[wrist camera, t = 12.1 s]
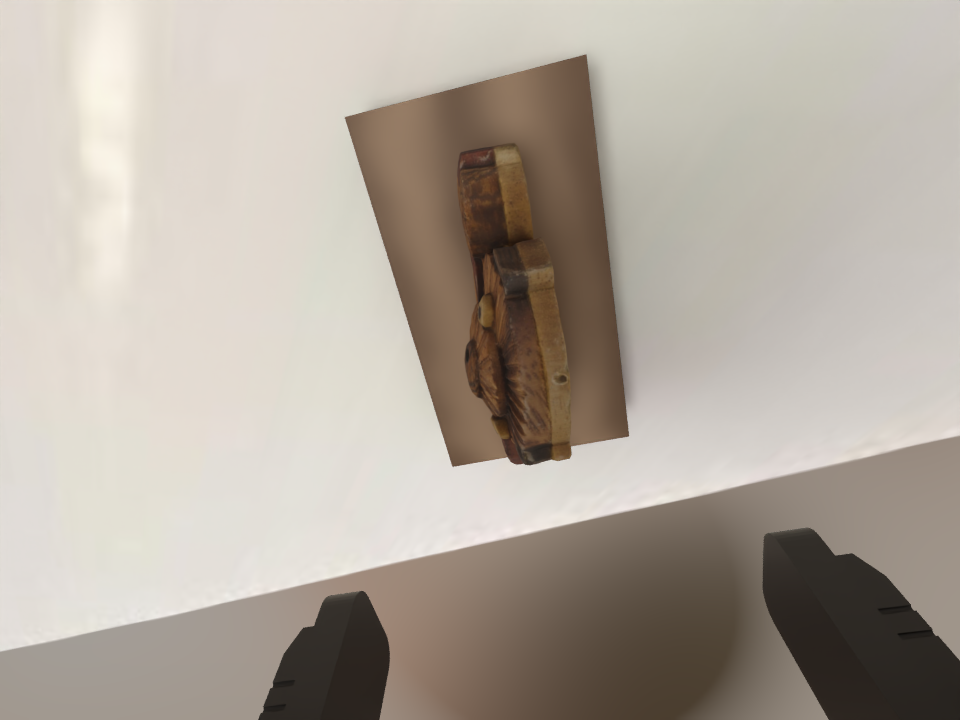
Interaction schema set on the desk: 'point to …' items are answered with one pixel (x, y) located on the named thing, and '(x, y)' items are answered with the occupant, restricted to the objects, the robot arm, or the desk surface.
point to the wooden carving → (513, 311)
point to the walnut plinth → (443, 248)
